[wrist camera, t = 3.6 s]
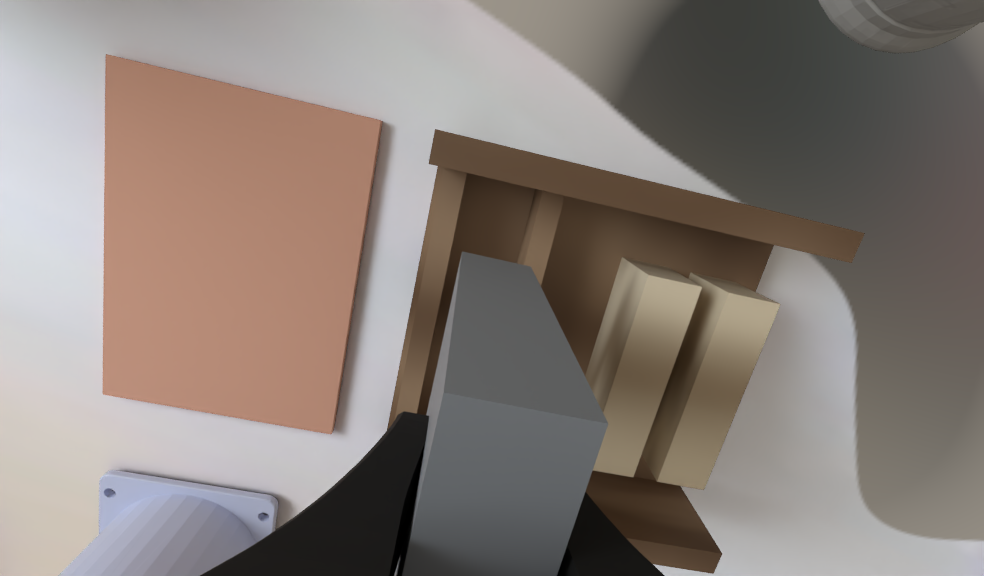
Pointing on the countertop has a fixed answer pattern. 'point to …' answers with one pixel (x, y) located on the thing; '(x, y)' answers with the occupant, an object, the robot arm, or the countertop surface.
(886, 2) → the glass holder
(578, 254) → the walnut rack
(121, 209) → the terracotta mat
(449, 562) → the gray block
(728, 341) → the birch offcut
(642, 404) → the birch offcut
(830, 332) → the countertop surface
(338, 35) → the countertop surface
